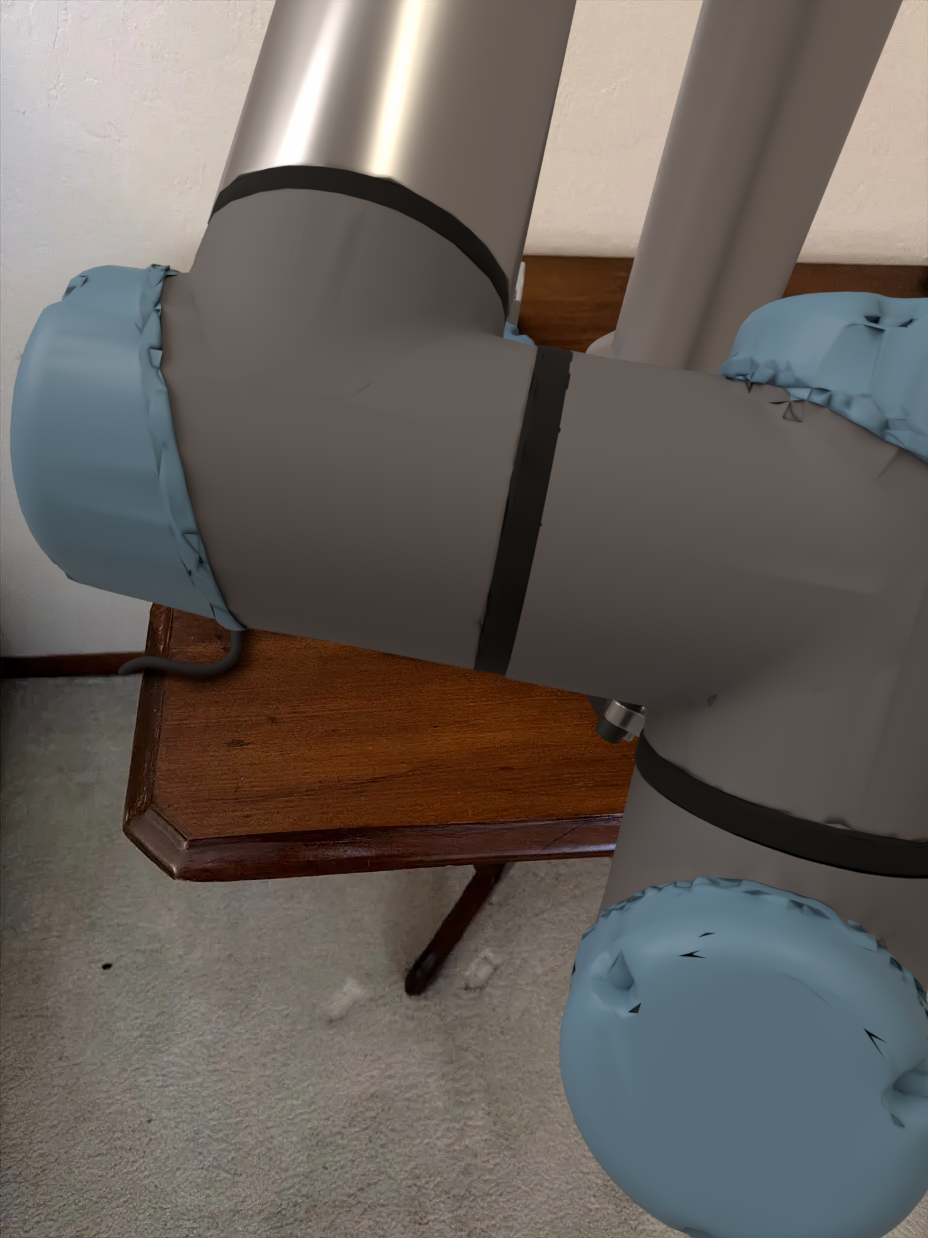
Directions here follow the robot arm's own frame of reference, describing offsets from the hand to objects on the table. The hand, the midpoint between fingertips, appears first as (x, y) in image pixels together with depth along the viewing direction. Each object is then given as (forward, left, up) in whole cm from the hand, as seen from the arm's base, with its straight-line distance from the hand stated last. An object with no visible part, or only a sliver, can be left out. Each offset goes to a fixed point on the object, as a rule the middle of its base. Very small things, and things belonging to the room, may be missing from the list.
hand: (758, 710), depth 51 cm
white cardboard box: (+20, +49, -17) cm, 55 cm away
